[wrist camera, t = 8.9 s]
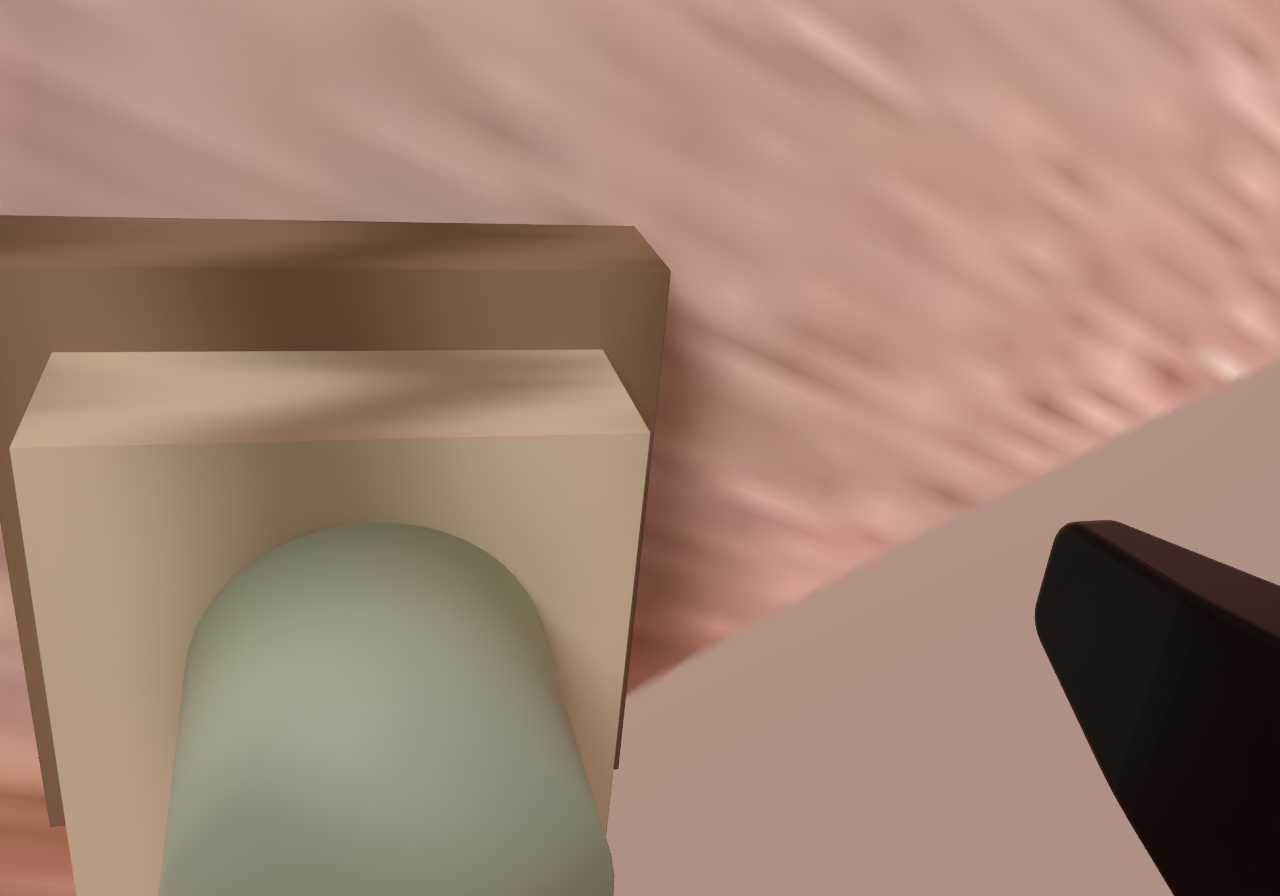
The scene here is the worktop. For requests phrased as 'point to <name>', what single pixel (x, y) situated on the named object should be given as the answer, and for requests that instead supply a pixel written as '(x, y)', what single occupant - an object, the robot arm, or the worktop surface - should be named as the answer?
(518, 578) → the top block
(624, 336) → the base slab
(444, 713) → the green rounded lump
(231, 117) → the worktop surface
